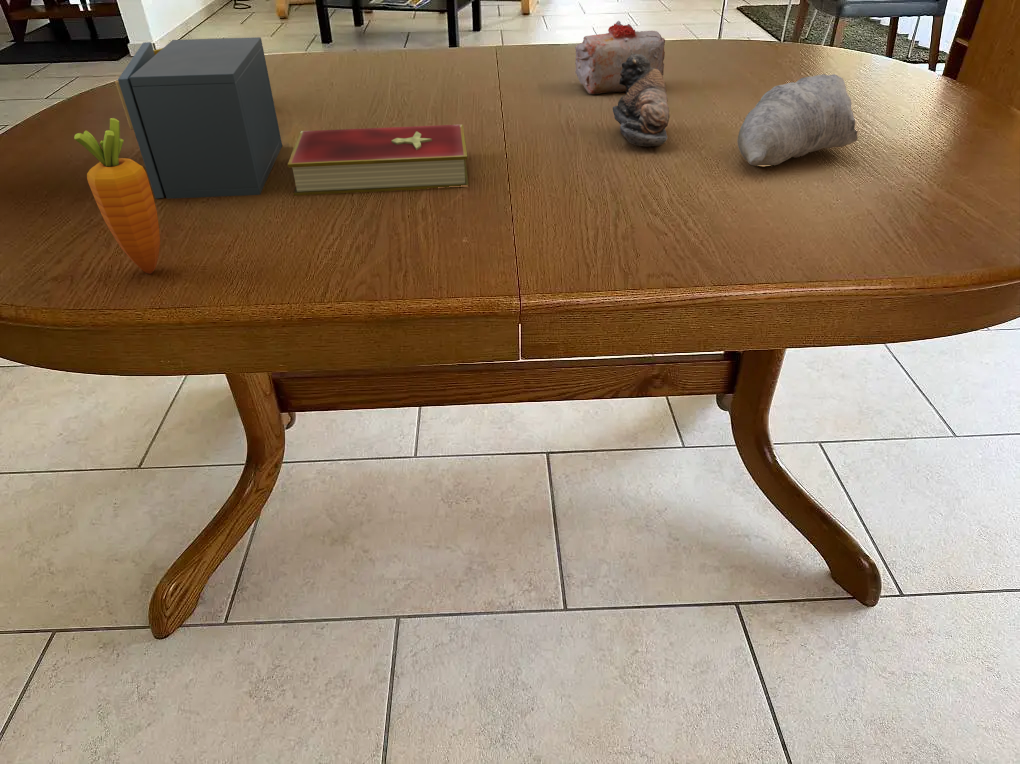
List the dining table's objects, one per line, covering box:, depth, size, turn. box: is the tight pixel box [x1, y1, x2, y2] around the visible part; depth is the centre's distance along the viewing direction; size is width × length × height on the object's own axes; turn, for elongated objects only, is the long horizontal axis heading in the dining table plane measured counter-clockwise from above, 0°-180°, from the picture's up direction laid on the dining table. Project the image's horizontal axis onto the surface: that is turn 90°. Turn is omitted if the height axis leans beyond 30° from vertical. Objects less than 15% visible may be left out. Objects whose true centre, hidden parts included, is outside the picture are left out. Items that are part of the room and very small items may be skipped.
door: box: [114, 41, 166, 200], centre depth 90 cm, size 5×17×14 cm, turn 13°
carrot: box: [73, 117, 161, 275], centre depth 69 cm, size 5×5×15 cm
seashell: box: [737, 73, 859, 167], centre depth 94 cm, size 16×15×10 cm
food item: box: [574, 20, 666, 95], centre depth 120 cm, size 14×8×10 cm, turn 101°
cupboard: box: [130, 36, 283, 200], centre depth 91 cm, size 11×17×14 cm, turn 5°
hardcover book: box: [287, 123, 469, 196], centre depth 93 cm, size 12×21×4 cm, turn 95°
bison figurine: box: [612, 52, 670, 148], centre depth 101 cm, size 12×7×10 cm, turn 9°
